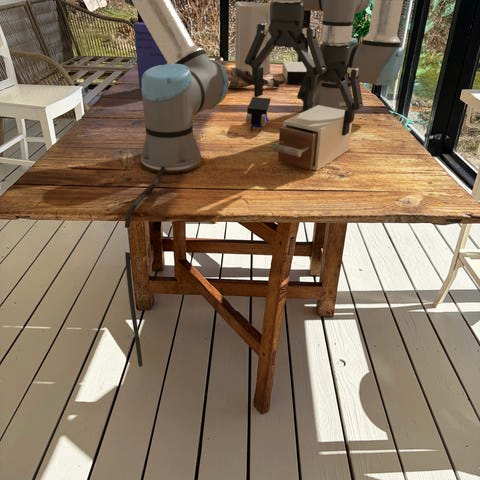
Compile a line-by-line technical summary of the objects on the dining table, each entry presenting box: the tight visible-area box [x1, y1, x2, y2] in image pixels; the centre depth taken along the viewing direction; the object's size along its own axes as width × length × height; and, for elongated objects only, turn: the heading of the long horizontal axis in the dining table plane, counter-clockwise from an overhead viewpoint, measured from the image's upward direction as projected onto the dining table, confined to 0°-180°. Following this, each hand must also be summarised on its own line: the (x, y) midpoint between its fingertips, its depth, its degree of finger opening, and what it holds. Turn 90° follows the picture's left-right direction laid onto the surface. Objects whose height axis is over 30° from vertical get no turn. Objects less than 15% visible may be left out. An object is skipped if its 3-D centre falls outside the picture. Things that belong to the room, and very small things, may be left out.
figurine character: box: [245, 96, 272, 132], centre depth 148 cm, size 7×8×15 cm
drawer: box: [269, 126, 318, 171], centre depth 122 cm, size 23×10×9 cm, turn 144°
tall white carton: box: [234, 1, 272, 75], centre depth 210 cm, size 19×15×28 cm
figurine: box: [228, 66, 287, 89], centre depth 190 cm, size 24×8×30 cm
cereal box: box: [133, 21, 167, 91], centre depth 182 cm, size 17×5×24 cm, turn 86°
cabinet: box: [282, 105, 353, 171], centre depth 127 cm, size 19×11×11 cm, turn 144°
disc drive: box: [281, 61, 306, 85], centre depth 207 cm, size 18×22×5 cm
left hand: (282, 100), depth 114 cm, fingers open, 13 cm apart
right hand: (325, 129), depth 130 cm, fingers closed on cabinet, 11 cm apart
